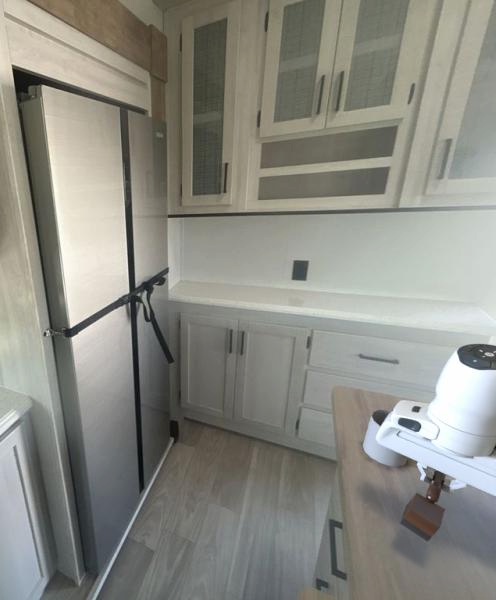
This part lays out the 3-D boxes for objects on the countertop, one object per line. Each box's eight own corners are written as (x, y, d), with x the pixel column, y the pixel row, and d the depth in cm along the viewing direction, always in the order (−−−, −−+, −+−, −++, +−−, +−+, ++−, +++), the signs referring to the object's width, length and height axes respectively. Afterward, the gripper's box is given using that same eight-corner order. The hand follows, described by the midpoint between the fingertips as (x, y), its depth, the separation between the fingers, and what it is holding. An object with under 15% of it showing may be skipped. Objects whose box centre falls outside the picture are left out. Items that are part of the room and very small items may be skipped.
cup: (388, 471, 78) (399, 438, 74) (354, 445, 85) (362, 414, 81) (415, 460, 79) (427, 428, 76) (380, 436, 87) (388, 406, 83)
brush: (416, 480, 69) (429, 462, 66) (442, 495, 66) (456, 477, 63) (399, 523, 61) (412, 505, 59) (427, 541, 59) (443, 524, 56)
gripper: (555, 454, 53) (521, 512, 58) (390, 396, 68) (376, 446, 73) (554, 478, 49) (519, 538, 54) (381, 411, 64) (366, 462, 70)
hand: (435, 485), depth 64 cm, fingers closed on brush
